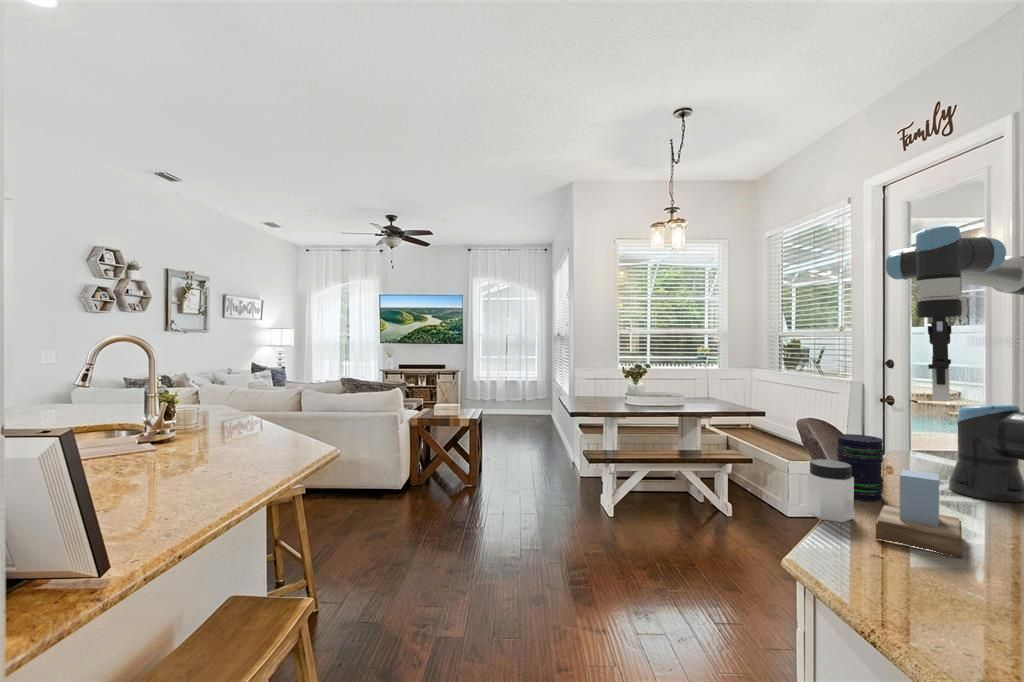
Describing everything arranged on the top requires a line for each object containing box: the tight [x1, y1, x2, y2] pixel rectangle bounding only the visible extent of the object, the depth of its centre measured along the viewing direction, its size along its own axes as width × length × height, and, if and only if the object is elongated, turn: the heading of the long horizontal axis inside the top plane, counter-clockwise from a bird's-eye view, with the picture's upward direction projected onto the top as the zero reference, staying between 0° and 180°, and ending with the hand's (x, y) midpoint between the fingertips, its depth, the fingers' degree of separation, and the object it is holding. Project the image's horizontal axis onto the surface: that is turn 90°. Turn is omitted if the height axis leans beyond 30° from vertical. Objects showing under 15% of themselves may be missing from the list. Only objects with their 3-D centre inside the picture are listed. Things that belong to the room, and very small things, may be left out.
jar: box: [807, 458, 855, 524], centre depth 118 cm, size 9×8×12 cm
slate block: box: [899, 469, 940, 527], centre depth 104 cm, size 6×6×9 cm
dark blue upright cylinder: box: [836, 433, 884, 503], centre depth 132 cm, size 10×10×15 cm
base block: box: [875, 504, 963, 558], centre depth 104 cm, size 13×13×4 cm
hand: (940, 396), depth 113 cm, fingers open, 13 cm apart
